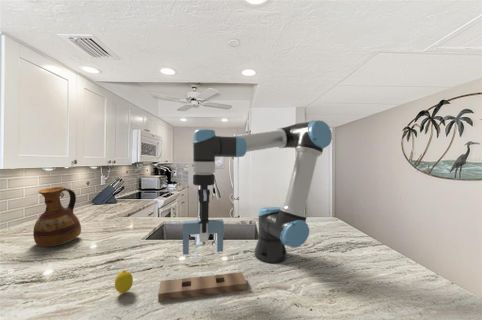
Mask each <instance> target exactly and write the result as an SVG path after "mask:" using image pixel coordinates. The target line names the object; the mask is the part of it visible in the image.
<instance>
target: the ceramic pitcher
mask: <svg viewBox="0 0 482 320" xmlns="http://www.w3.org/2000/svg"><path fill="white" fill-rule="evenodd" d="M63 192H68V194H69V203H68V205H67V207H64V206H62V203H61V194H62V193H63ZM38 193H39V194H40V195H42V196H43V198H44V204H45V210H44V212H43V213H41V214H40V216H39V217H38V218H37V219H36V221H35V223H34V226H33V234H32V235H33V240H34V242H35V244H36V245H37V246H38V247H54V246H59V245H63V244H66V243H68V242H70V241H72V240H75V239H76V238H78V237H79V236H80V235H81V233H82V225H81V223H80V219H79V217H78V216H77V215H76V214H75V213H74V208H75V204H76V201H77V195H76V193H75V191H74V190H72V189H71V188H67V187H64V186H56V187H55V186H53V187H50V188H49V187H48V188H44V189H40V190H39V191H38Z"/></svg>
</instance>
